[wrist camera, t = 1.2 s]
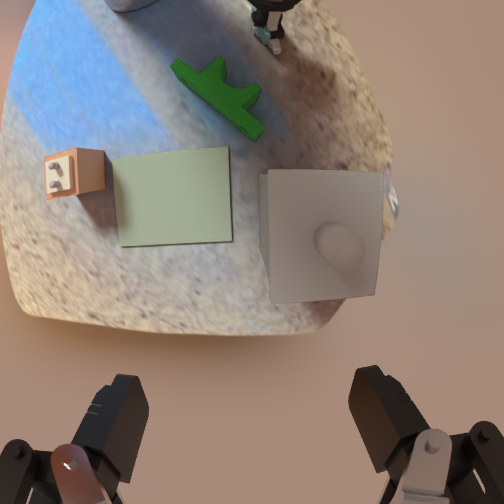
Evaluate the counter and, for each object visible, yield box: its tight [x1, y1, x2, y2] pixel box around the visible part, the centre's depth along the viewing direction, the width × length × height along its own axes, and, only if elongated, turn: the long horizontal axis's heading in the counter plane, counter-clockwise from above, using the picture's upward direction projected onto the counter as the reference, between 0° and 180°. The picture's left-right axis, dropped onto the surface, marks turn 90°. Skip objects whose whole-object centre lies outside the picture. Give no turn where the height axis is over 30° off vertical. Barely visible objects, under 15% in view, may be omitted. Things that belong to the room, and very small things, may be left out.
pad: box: [112, 147, 232, 247], centre depth 28 cm, size 10×13×1 cm
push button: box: [248, 0, 301, 55], centre depth 18 cm, size 7×5×10 cm
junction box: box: [258, 169, 384, 304], centre depth 21 cm, size 9×8×16 cm
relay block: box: [44, 148, 106, 200], centre depth 23 cm, size 4×4×8 cm
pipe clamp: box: [170, 56, 266, 141], centre depth 23 cm, size 11×4×5 cm, turn 47°
